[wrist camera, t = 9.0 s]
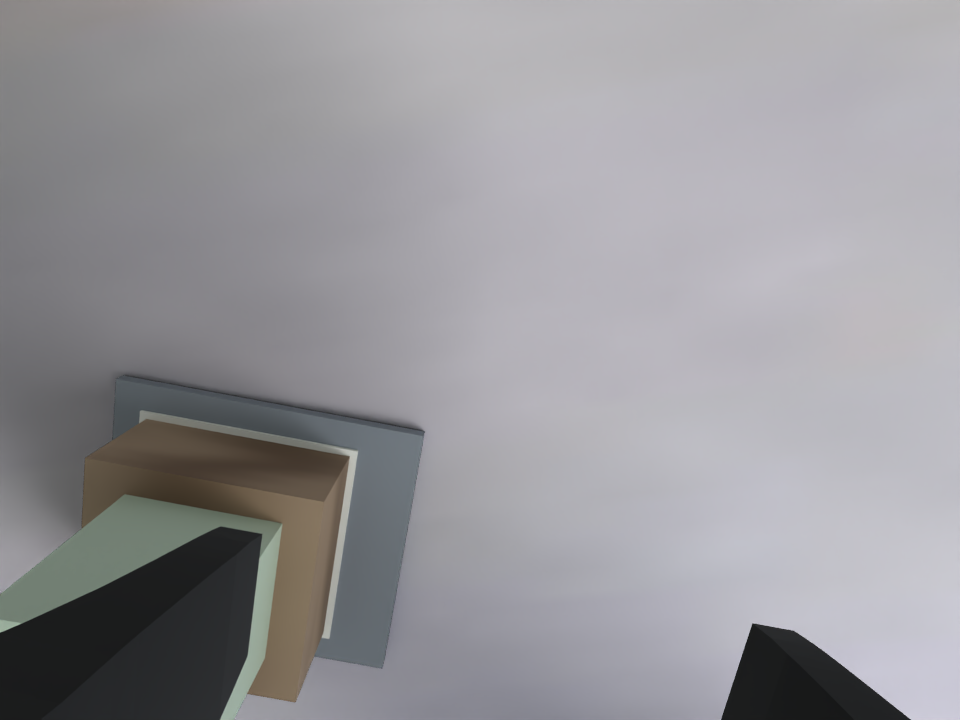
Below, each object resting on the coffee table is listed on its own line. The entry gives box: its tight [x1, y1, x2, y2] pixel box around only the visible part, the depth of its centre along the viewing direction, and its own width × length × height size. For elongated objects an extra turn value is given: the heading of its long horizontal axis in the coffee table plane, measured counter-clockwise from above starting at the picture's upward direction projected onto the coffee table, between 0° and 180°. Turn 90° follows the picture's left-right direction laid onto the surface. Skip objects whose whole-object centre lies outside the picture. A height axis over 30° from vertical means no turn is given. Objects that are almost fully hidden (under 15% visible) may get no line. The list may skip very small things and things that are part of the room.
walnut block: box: [82, 419, 350, 702], centre depth 19 cm, size 6×6×3 cm
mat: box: [112, 375, 425, 668], centre depth 21 cm, size 9×8×1 cm
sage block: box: [0, 494, 282, 720], centre depth 15 cm, size 4×4×5 cm
